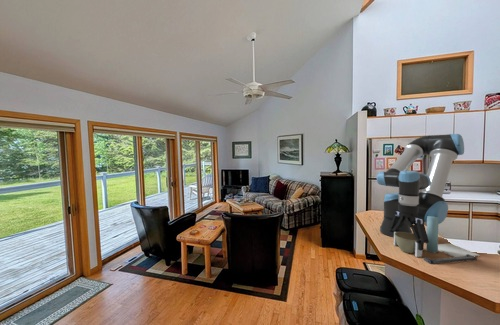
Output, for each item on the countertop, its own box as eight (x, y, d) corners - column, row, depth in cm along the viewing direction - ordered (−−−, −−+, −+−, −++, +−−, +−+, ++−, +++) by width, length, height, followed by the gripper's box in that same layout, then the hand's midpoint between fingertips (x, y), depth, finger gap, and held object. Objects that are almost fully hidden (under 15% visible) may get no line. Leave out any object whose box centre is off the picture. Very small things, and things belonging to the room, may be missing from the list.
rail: (423, 260, 89) (423, 257, 89) (468, 256, 92) (468, 254, 92) (430, 263, 86) (430, 261, 86) (476, 260, 89) (476, 257, 89)
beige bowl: (389, 246, 103) (389, 231, 103) (410, 246, 103) (410, 231, 102) (403, 255, 93) (404, 240, 93) (426, 256, 93) (427, 240, 92)
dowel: (424, 249, 99) (424, 216, 98) (431, 249, 100) (432, 215, 99) (432, 253, 95) (433, 218, 95) (440, 252, 96) (440, 218, 95)
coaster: (429, 246, 103) (429, 244, 103) (450, 244, 104) (450, 243, 104) (456, 258, 91) (456, 256, 91) (479, 256, 92) (479, 255, 92)
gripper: (382, 198, 108) (381, 240, 109) (425, 211, 85) (423, 263, 86) (395, 198, 109) (394, 239, 110) (441, 210, 86) (439, 262, 87)
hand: (407, 250), depth 98 cm, fingers open, 11 cm apart
